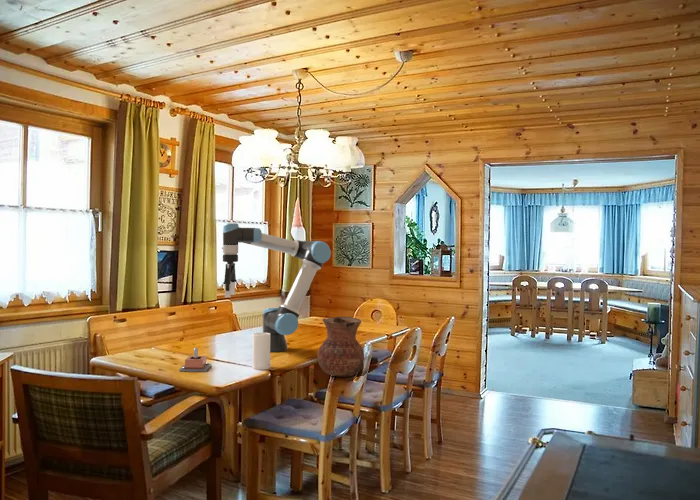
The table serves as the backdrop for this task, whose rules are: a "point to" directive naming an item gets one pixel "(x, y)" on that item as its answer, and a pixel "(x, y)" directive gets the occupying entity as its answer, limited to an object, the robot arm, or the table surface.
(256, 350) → the cup
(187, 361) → the link
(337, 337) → the brown clay vase
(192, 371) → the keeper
